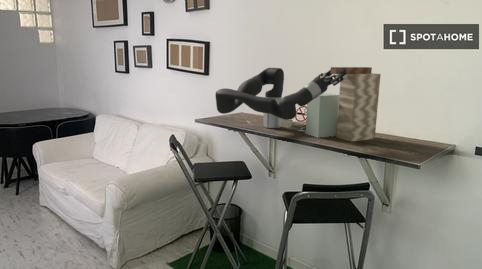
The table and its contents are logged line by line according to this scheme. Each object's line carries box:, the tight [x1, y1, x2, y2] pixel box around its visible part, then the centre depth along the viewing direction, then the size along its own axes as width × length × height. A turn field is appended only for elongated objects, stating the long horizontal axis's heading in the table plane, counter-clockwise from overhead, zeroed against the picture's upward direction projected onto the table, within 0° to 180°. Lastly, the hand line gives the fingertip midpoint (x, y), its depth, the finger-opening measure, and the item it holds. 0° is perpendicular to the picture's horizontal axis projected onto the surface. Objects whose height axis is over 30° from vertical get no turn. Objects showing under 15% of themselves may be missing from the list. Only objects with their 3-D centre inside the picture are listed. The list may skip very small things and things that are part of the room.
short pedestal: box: [305, 92, 339, 139], centre depth 193 cm, size 12×10×21 cm
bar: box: [330, 66, 373, 75], centre depth 180 cm, size 22×4×3 cm, turn 117°
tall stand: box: [335, 72, 382, 142], centre depth 186 cm, size 16×10×32 cm, turn 117°
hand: (339, 71), depth 177 cm, fingers open, 8 cm apart
